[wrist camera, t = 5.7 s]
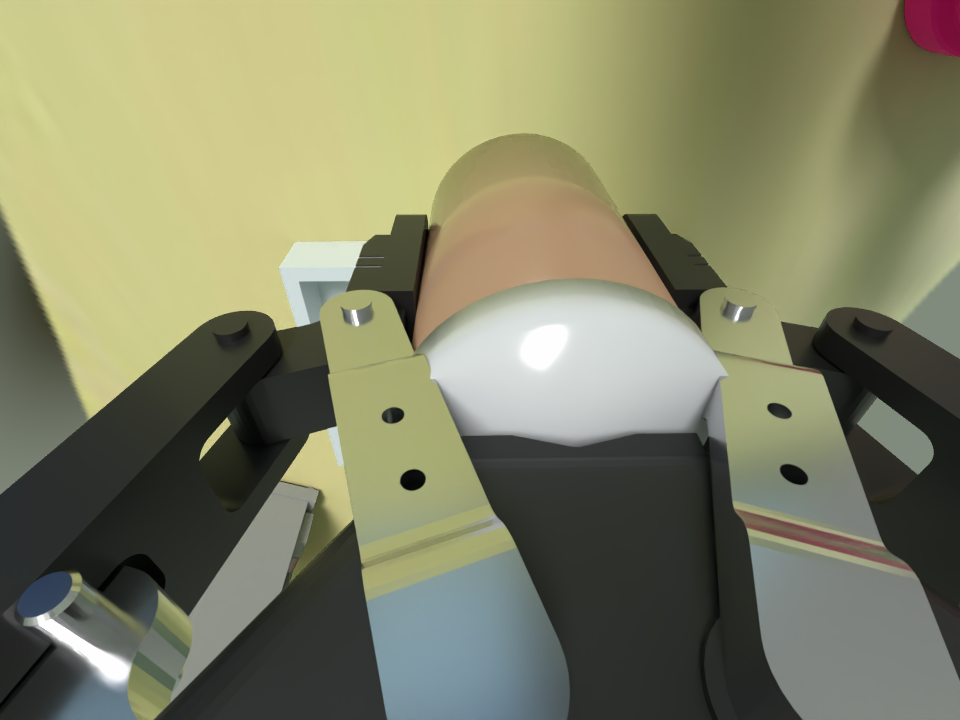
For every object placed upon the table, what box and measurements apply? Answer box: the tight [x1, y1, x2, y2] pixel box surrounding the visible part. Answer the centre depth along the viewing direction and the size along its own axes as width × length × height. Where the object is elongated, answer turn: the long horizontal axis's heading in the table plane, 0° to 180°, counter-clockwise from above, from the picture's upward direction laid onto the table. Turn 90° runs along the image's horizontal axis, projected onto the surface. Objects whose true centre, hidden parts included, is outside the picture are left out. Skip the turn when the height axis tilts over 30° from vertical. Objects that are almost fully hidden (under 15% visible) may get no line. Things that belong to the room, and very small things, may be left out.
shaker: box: [412, 134, 729, 447], centre depth 10 cm, size 5×5×8 cm
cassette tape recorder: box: [170, 482, 319, 703], centre depth 34 cm, size 14×6×25 cm, turn 155°
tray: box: [279, 239, 687, 466], centre depth 30 cm, size 16×22×3 cm
